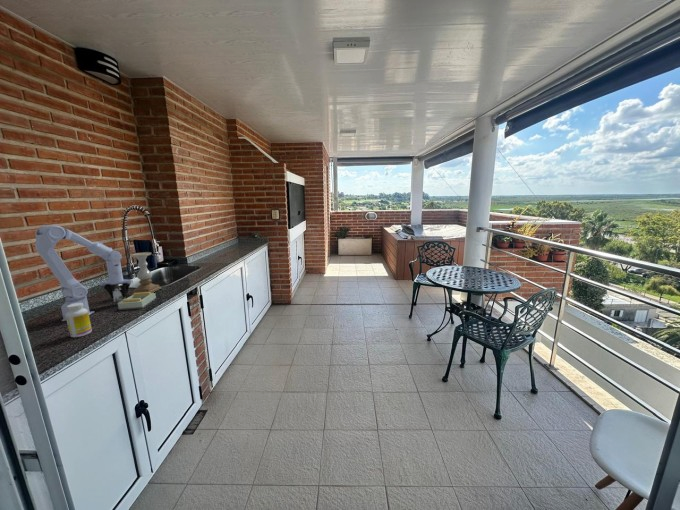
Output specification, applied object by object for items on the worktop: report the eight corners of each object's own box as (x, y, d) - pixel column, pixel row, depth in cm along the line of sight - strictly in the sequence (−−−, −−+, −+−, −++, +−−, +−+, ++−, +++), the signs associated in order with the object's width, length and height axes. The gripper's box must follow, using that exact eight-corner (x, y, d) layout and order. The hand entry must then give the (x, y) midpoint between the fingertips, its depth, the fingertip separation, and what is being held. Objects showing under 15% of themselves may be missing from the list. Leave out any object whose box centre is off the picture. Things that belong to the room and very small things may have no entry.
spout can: (122, 301, 144) (120, 287, 143) (111, 302, 143) (109, 288, 142) (127, 298, 149) (125, 285, 148) (117, 299, 148) (115, 285, 147)
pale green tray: (142, 308, 140) (141, 299, 139) (118, 310, 138) (117, 301, 137) (156, 299, 153) (154, 290, 152) (134, 300, 151) (132, 292, 150)
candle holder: (144, 289, 171) (138, 252, 167) (162, 289, 171) (156, 251, 167) (131, 295, 160) (124, 255, 156) (150, 295, 160) (143, 255, 156)
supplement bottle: (96, 330, 116) (90, 301, 114) (82, 337, 109) (76, 307, 107) (80, 330, 116) (74, 302, 113) (65, 338, 109) (58, 308, 107)
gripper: (134, 270, 148) (138, 294, 151) (104, 271, 146) (109, 296, 149) (127, 273, 142) (131, 298, 144) (95, 275, 139) (100, 300, 142)
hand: (119, 297), depth 146 cm, fingers closed on spout can, 5 cm apart
